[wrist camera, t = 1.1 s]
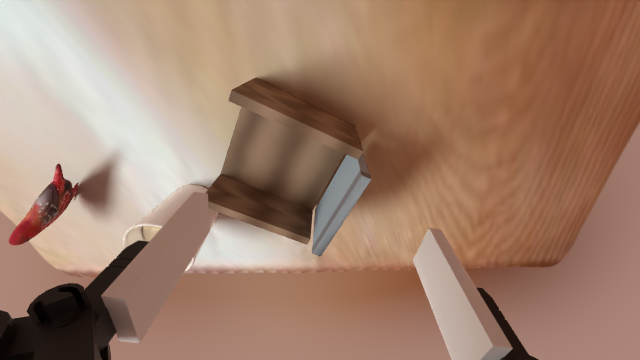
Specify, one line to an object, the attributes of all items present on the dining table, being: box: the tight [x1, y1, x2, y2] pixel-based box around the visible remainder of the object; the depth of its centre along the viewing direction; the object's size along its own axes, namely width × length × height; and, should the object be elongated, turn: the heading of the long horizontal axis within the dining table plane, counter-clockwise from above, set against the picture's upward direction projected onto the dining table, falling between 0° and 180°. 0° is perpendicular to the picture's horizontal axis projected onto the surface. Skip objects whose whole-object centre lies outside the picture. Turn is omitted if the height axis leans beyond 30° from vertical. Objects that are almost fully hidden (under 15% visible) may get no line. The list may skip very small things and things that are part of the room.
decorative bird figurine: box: [9, 164, 79, 245], centre depth 40 cm, size 3×18×10 cm, turn 140°
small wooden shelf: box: [206, 78, 363, 244], centre depth 36 cm, size 16×16×10 cm
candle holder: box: [123, 184, 219, 272], centre depth 40 cm, size 10×10×12 cm
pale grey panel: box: [312, 153, 372, 256], centre depth 35 cm, size 1×13×10 cm, turn 155°
